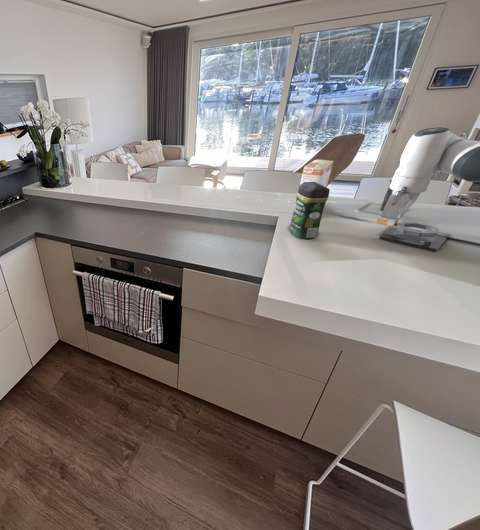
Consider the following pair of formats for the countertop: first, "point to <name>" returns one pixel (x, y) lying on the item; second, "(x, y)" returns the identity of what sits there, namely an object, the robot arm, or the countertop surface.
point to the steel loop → (402, 226)
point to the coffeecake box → (317, 172)
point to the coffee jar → (308, 210)
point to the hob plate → (414, 239)
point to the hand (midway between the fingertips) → (391, 223)
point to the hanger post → (386, 197)
